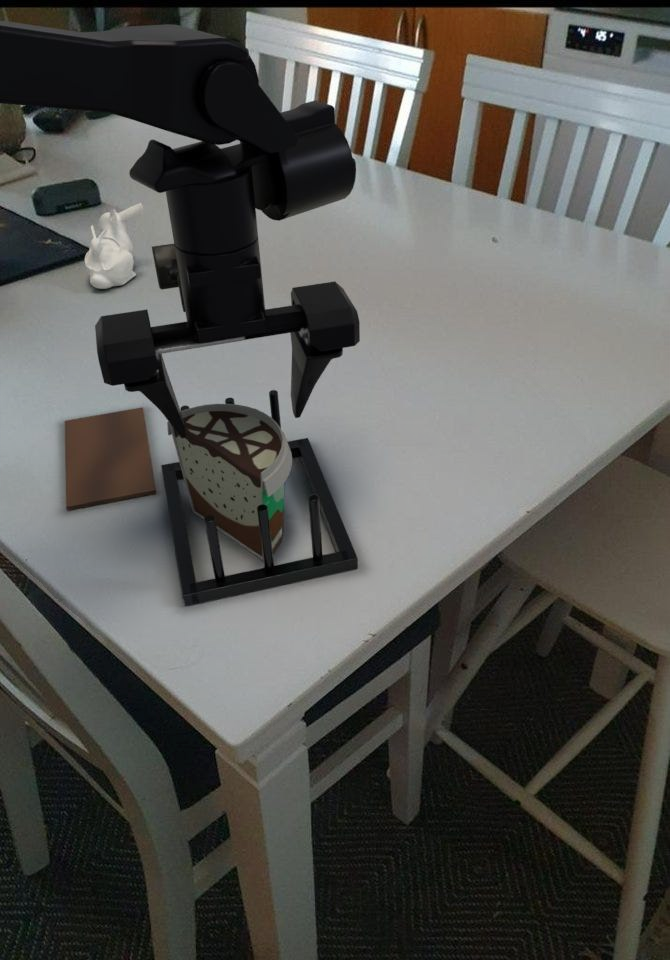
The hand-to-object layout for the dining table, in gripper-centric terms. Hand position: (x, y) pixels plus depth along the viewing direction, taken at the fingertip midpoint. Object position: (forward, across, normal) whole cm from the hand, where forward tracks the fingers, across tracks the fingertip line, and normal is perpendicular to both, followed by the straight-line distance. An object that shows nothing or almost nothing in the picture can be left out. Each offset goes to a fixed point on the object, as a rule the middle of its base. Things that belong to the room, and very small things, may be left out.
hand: (240, 425), depth 65 cm
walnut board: (+10, +12, -13) cm, 20 cm away
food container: (+10, 0, 0) cm, 10 cm away
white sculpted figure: (+10, +8, -54) cm, 56 cm away
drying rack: (+10, 0, 0) cm, 10 cm away
